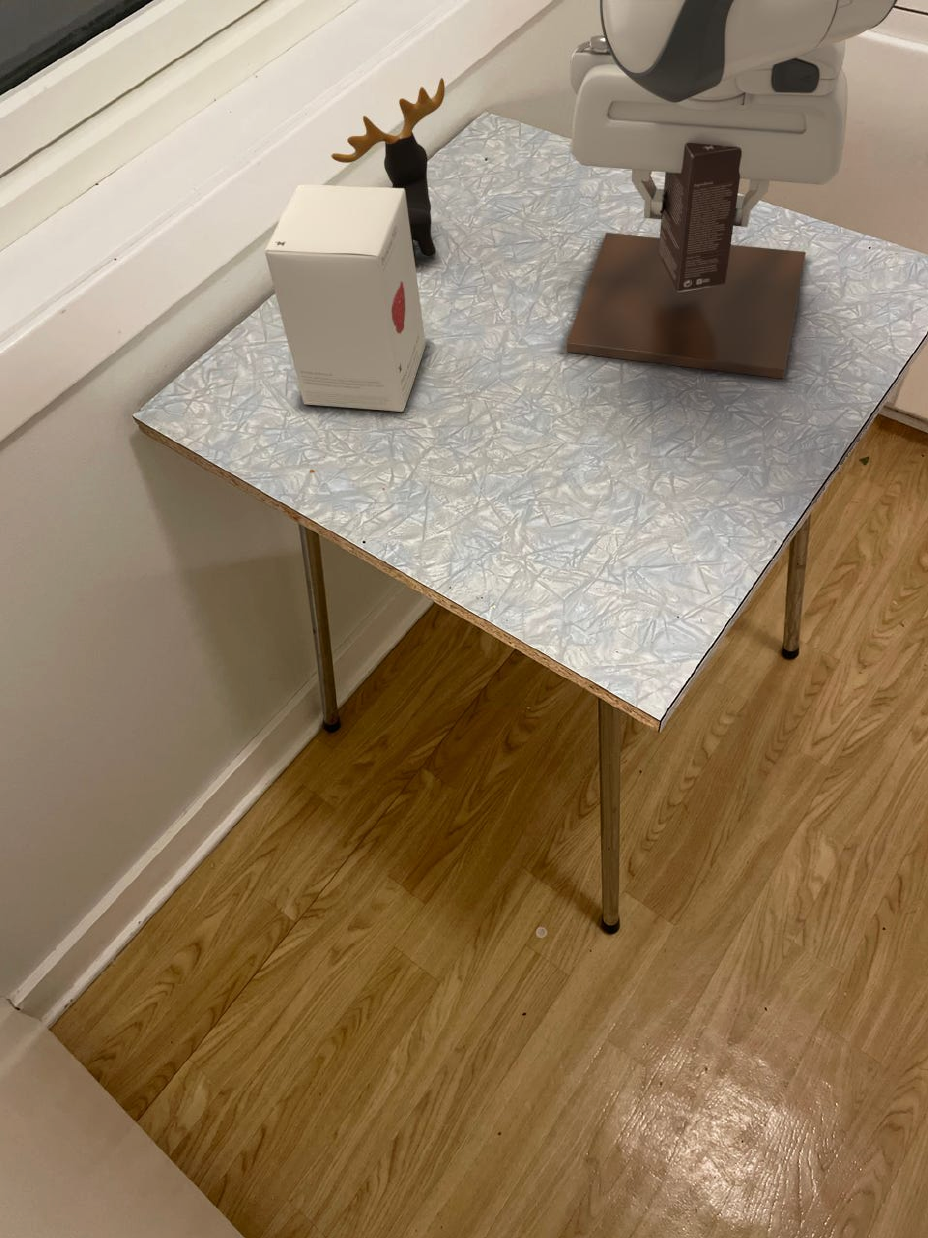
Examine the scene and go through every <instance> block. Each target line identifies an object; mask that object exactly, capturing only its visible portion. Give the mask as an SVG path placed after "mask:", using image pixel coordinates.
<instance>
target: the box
mask: <svg viewBox="0 0 928 1238" xmlns="http://www.w3.org/2000/svg"><path fill="white" fill-rule="evenodd" d="M741 157H742V151H741V148H739V147H730V146H720V145H710V144H698V143H687V144H685V148H684V157H683V165H682V171H681V173H668V172H664V173H665V175H664V185H663V189H665V190H667V191H666V199H665V202H666V203H665V211H664V214H663V218H662V219H660V232H659V238H660V241H659V255H660V257H661V259H662V262H663V264H664V266H665V268H666V270H667V272H668V274H669V276H670V278H671V281H672V283H673V285H674V287H675V289H676V291H677V292H689V291H695V290H701V289H705V288H710V287H715V286H720V285H723V284H725V281H726V274H727V267H728V260H729V253H730V247H731V245H732V239H733V231H734V226H733V224H734V217H735V210H736V204H737V196H739V188H740V183H741V182H740V181H741V178H740V173H739V167H740V161H741Z"/></svg>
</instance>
